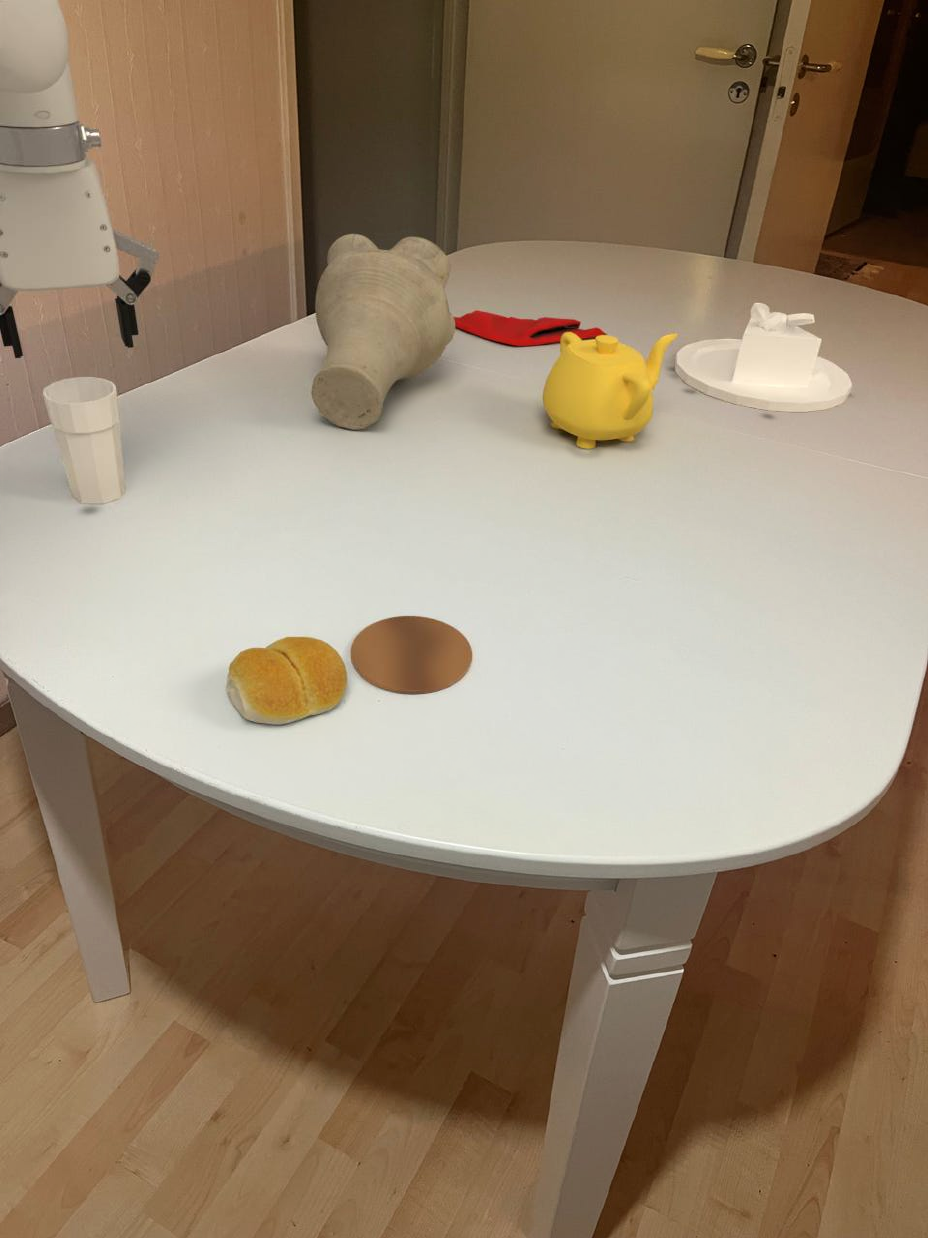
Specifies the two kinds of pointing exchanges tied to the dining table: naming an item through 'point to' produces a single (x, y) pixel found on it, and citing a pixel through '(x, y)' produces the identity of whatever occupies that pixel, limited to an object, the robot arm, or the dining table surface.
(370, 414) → the vase
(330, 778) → the dining table surface
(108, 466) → the cup
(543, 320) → the cloth
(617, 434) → the teapot
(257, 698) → the bread roll
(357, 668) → the coaster
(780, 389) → the dish
